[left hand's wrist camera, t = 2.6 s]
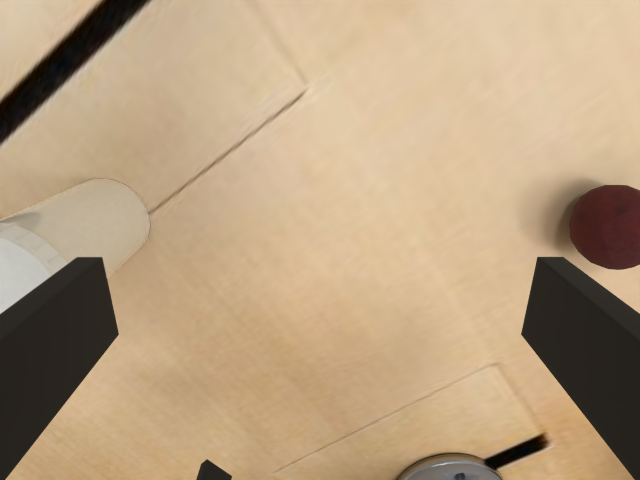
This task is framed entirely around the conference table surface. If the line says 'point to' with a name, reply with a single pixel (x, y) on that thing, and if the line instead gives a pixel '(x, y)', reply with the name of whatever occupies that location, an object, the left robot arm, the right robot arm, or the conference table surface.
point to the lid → (24, 263)
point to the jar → (89, 222)
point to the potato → (608, 226)
